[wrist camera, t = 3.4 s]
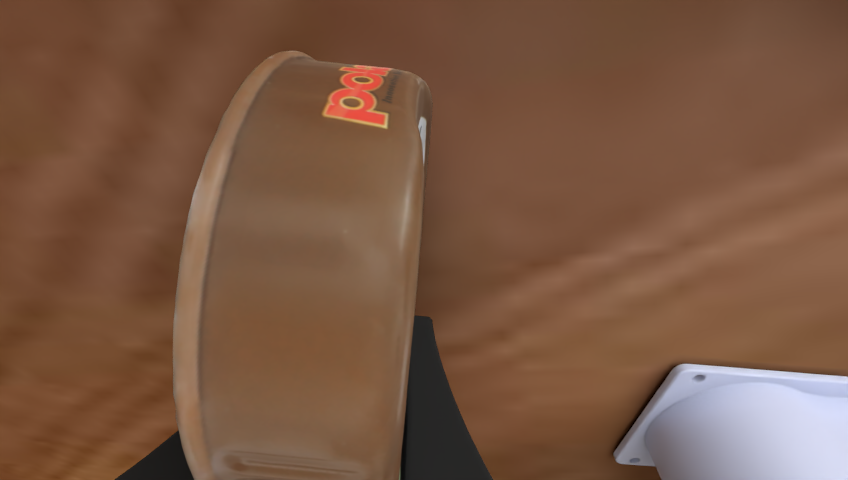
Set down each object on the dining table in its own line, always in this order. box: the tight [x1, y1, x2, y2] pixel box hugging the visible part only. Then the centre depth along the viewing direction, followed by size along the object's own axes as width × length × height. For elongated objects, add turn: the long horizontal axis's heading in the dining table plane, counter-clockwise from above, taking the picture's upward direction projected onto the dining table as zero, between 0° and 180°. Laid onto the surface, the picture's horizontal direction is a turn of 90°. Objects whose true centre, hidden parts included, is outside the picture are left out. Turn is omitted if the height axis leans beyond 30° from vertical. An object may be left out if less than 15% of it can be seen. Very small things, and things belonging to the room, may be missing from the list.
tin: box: [173, 51, 433, 480], centre depth 10 cm, size 15×3×8 cm, turn 175°
